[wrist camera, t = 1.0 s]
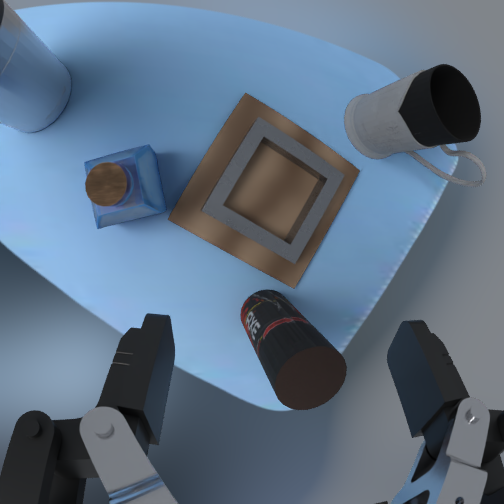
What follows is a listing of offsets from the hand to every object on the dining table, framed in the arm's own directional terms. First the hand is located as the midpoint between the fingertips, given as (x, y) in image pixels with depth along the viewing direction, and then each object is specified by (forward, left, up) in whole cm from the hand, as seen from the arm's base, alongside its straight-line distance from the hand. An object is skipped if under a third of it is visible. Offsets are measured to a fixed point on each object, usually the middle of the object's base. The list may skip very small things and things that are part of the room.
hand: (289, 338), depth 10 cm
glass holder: (+12, +21, -25) cm, 35 cm away
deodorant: (+9, -5, -25) cm, 27 cm away
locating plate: (+2, +7, -25) cm, 26 cm away
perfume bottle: (-11, 0, -25) cm, 27 cm away
